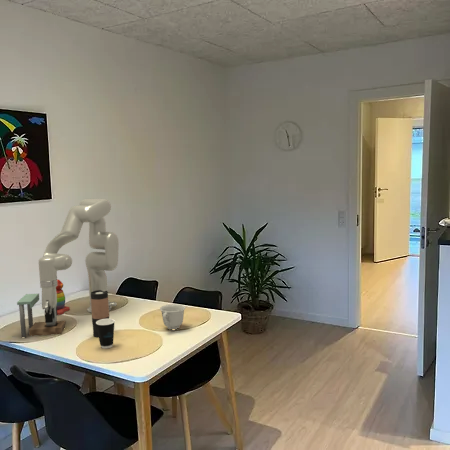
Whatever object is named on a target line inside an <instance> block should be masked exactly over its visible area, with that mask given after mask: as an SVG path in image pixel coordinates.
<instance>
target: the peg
mask: <svg viewBox="0 0 450 450" xmlns="http://www.w3.org/2000/svg"><path fill="white" fill-rule="evenodd" d="M48 310H49V311H50V309H48ZM51 314H52V317H53V322H50V323H46V327H53V326H57V321H58V319H57V316H58V315H57V314H56V305H55V307H54V308H53V309H52V312H51Z"/></svg>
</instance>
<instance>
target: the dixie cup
mask: <svg viewBox="0 0 450 450" xmlns="http://www.w3.org/2000/svg"><path fill="white" fill-rule="evenodd" d="M115 322H116V320H115V319H113V318H109V319H101V320H98V321H97V322H96V324H97V329H98V335H99V337H98V340H99V345H100V347H101V349H110V348H112V347H113V344H114V338H115V337H114V335H115V334H114V333H115Z"/></svg>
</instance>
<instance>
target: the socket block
mask: <svg viewBox="0 0 450 450" xmlns="http://www.w3.org/2000/svg"><path fill="white" fill-rule="evenodd" d="M66 327H67V325H66V320H57V326H53V327H46V322H45V321H36V322H33V326H32V327H31V328H30V329H29V328H28V333H29V334H28V335H29V337H35V336H34V335H39V336H51V334H54V335H62V333H63V332H64V330H65V329H66ZM64 328H65V329H64ZM31 335H32V336H31Z"/></svg>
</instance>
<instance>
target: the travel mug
mask: <svg viewBox="0 0 450 450" xmlns="http://www.w3.org/2000/svg"><path fill="white" fill-rule="evenodd" d="M108 291H109V290H108ZM108 291H102V290H96V291H93V292H91V309H92V313H91V321H92V332H93V333H92V334H93V337H95V338H99V335H98V329H97V324H96V322H97V321H98V320H101V319H110V310H109V304H108V300H109V292H108Z"/></svg>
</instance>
